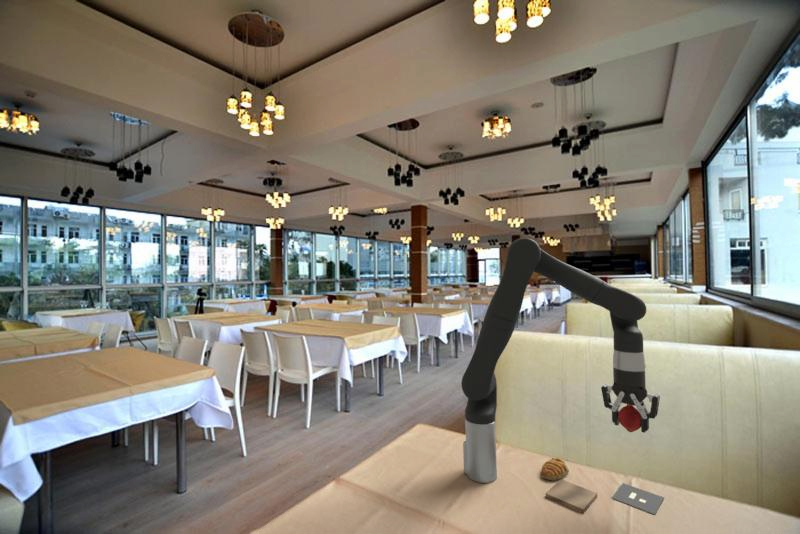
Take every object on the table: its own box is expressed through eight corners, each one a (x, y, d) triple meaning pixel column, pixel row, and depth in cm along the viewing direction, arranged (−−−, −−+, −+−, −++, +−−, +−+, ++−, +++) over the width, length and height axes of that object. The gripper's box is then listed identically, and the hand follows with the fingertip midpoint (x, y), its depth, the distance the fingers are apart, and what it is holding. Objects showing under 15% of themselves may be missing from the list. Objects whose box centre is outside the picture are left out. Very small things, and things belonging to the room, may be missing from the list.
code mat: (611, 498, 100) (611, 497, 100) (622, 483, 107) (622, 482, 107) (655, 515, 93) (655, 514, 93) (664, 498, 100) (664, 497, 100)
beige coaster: (545, 496, 101) (545, 493, 102) (560, 482, 108) (560, 479, 108) (583, 513, 94) (583, 509, 94) (597, 496, 101) (597, 493, 101)
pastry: (557, 485, 107) (556, 472, 107) (535, 477, 112) (534, 464, 112) (570, 473, 114) (569, 461, 114) (549, 465, 119) (548, 453, 119)
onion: (639, 429, 103) (638, 400, 103) (646, 437, 97) (645, 407, 97) (616, 426, 104) (615, 398, 105) (621, 434, 99) (620, 405, 99)
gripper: (596, 364, 104) (597, 424, 103) (656, 374, 93) (658, 440, 93) (604, 360, 109) (606, 417, 109) (663, 368, 99) (664, 431, 98)
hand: (630, 427), depth 101 cm, fingers closed on onion, 6 cm apart
